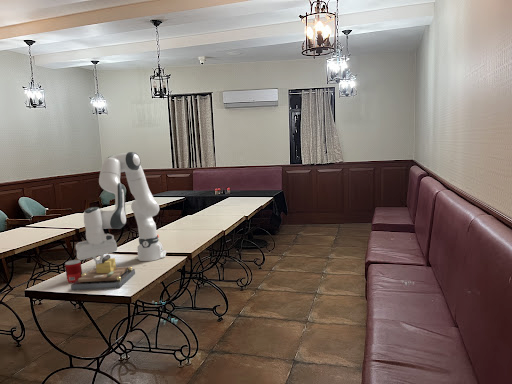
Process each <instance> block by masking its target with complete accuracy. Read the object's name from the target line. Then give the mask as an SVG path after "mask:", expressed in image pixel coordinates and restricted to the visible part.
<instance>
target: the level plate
mask: <svg viewBox="0 0 512 384" xmlns="http://www.w3.org/2000/svg"><path fill="white" fill-rule="evenodd" d="M128 267H129V266H117V264H116V258H114V257H113V258H112V257H111V255H110V254H105V255H104V257H103V259H102V263H101V264H97V265H96V264H95V268H92V269H91V270H90V271H88V272H86V274H85V275H84V276H82V277H81V278H79V279H78V282H91V281H113V280H116V277H118V276H121V275H122V274H123V273H124V272H126V271H127V270H128Z"/></svg>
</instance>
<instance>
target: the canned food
mask: <svg viewBox="0 0 512 384" xmlns="http://www.w3.org/2000/svg"><path fill="white" fill-rule="evenodd" d="M81 261H82V260H79V259H72V260H69V261H66V262H65V263H64V266H65V273H66V281H67V283H69V284H73V283H74V282H76V281H77V280H78V279H79V278H81V274H83V270H82V269H83V268H82V262H81Z"/></svg>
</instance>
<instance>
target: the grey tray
mask: <svg viewBox="0 0 512 384" xmlns="http://www.w3.org/2000/svg"><path fill="white" fill-rule="evenodd" d="M127 267H128V270H127V271H126V272H124V273H123V274H122V275H121V276H118V277H116V280H113V281H91V282H78V280H77V281H76V282H74V283H70V289H71V291H81V290H82V291H83V290H107V289H108V290H109V289H120V288H122V287H123V286H124V285H126V283H127V282H129V280H130V279H132V278H133V277H134V276H135V275H136V269H135V268H133V267H132V266H127ZM86 273H87V272H86ZM86 273H84V272H82V274H81V277H82V276H84V275H85V274H86Z"/></svg>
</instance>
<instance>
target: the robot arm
mask: <svg viewBox="0 0 512 384" xmlns="http://www.w3.org/2000/svg"><path fill="white" fill-rule="evenodd" d="M144 172H145V171H144V169H143V167H142V165H141V158H140V156H139V154H137V152H133V151H129V152H122V153H117V154H115V155H110V156H108V157H107V158H105V159H104V161H103V163H102V165H101V168H100V172H99V176H98V177H99V178H98V183H99V186H100V188H101V189H102V190H104V191H105V192H108V193H110V194H114V198H115V199H114V201H115V202H114V203H115V204H114V206H115V207H114V209H113V210H101V209H100V207H98V206H94V207H93V206H92V207H89V208H86V209H85V210H84V212H83V225H84V229H85V237H86V240H82V241H79V242H77V243H75V245H74V247H75V250H76V258H77V260H80V261H83V260H87V259H93V260H94V263H95V266H96V265H97V264H101V263H102V259H103V257H105V255H109V254H112V253H115V252H117V251H118V245H117V241H116V240H115V235H113V234H111V233H105V231H104V229H105V230H106V229H114V230H115V229H118V230H120V229H122V228H123V227H124V226H125V225H126V223H127V215H126V214H127V213H126V199H125V198H126V193H125V187H124V185H123V184H122V183H121V173H124V174H125V178H126V182H127V185H128V187H129V191H130V193H131V194H132V196H133V198H134V200H133V201H132V202H131V205H130V206H131V211H132V212H133V215H134V218H135V221H136V224H137V230H138V237H139V238H138V246H137V256H136V257H135V260H138V261H140V262H151V261H156V260H159V259H164V258H166V254H167V252H166V251H167V250H165V249H164V248H163V247H164V246H163V244H162V243H161V242H160V238H159V237H160V235H159V234H158V233H157V225H156V224H157V223H156V222H155V221H154V218H153V217H155V216H157V215H158V214H159V212H160V205H159V203H157V201H156V199H155V198H154V195H153V194H152V192H151V190H150V188H149V184H148V182H147V178H146V174H145V173H144ZM97 257H99V259H97Z"/></svg>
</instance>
